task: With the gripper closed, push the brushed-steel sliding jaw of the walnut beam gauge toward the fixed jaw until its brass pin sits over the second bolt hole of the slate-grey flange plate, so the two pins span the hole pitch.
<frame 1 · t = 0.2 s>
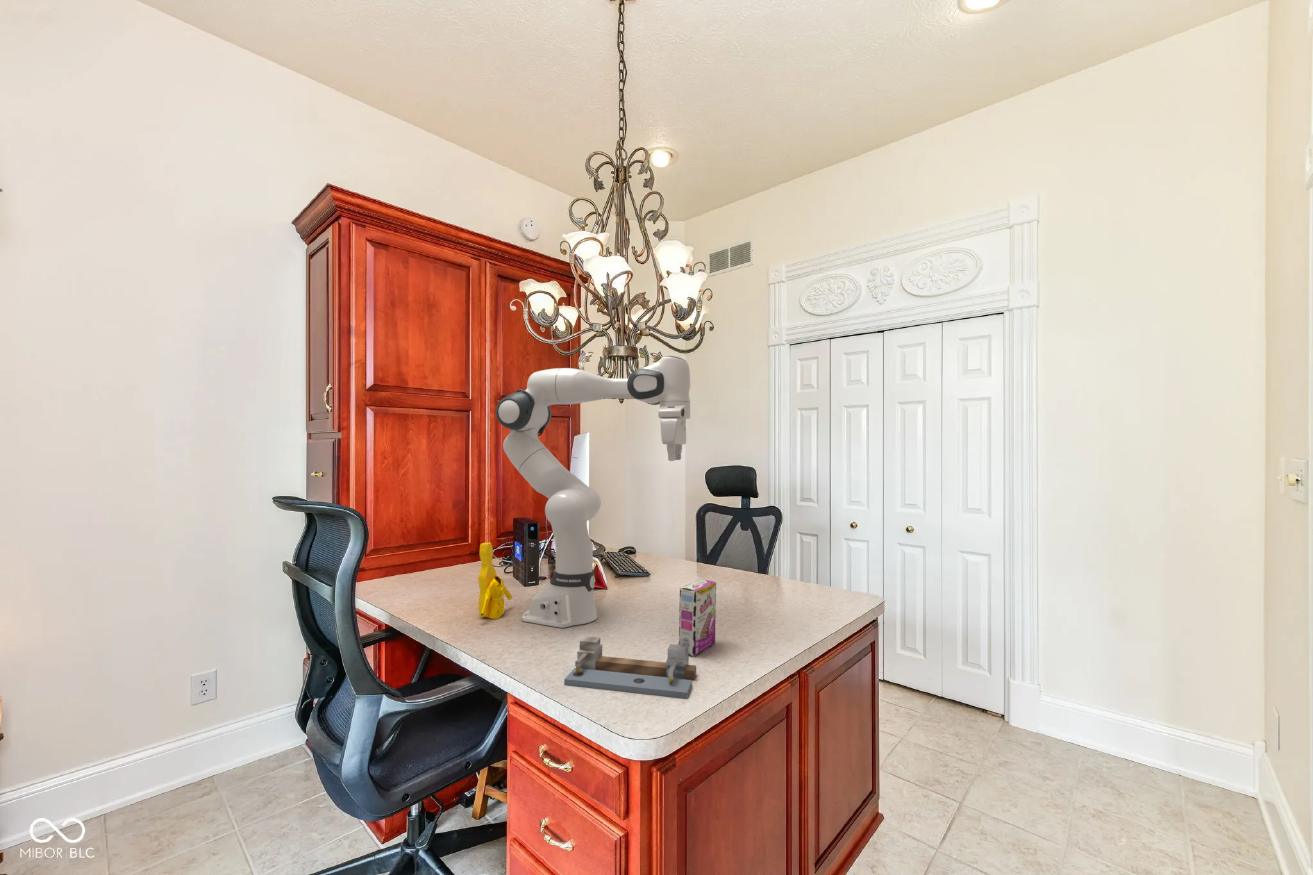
hand: (674, 460, 154), 48 cm above the table, fingers open, 8 cm apart
candy bar box: (697, 649, 137), on the table
figure statuette: (491, 616, 163), on the table
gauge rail: (637, 670, 123), on the table
flange plate: (627, 685, 116), on the table
sliding jaw: (675, 664, 118), point 3 cm above the table, slide at 14.0 cm
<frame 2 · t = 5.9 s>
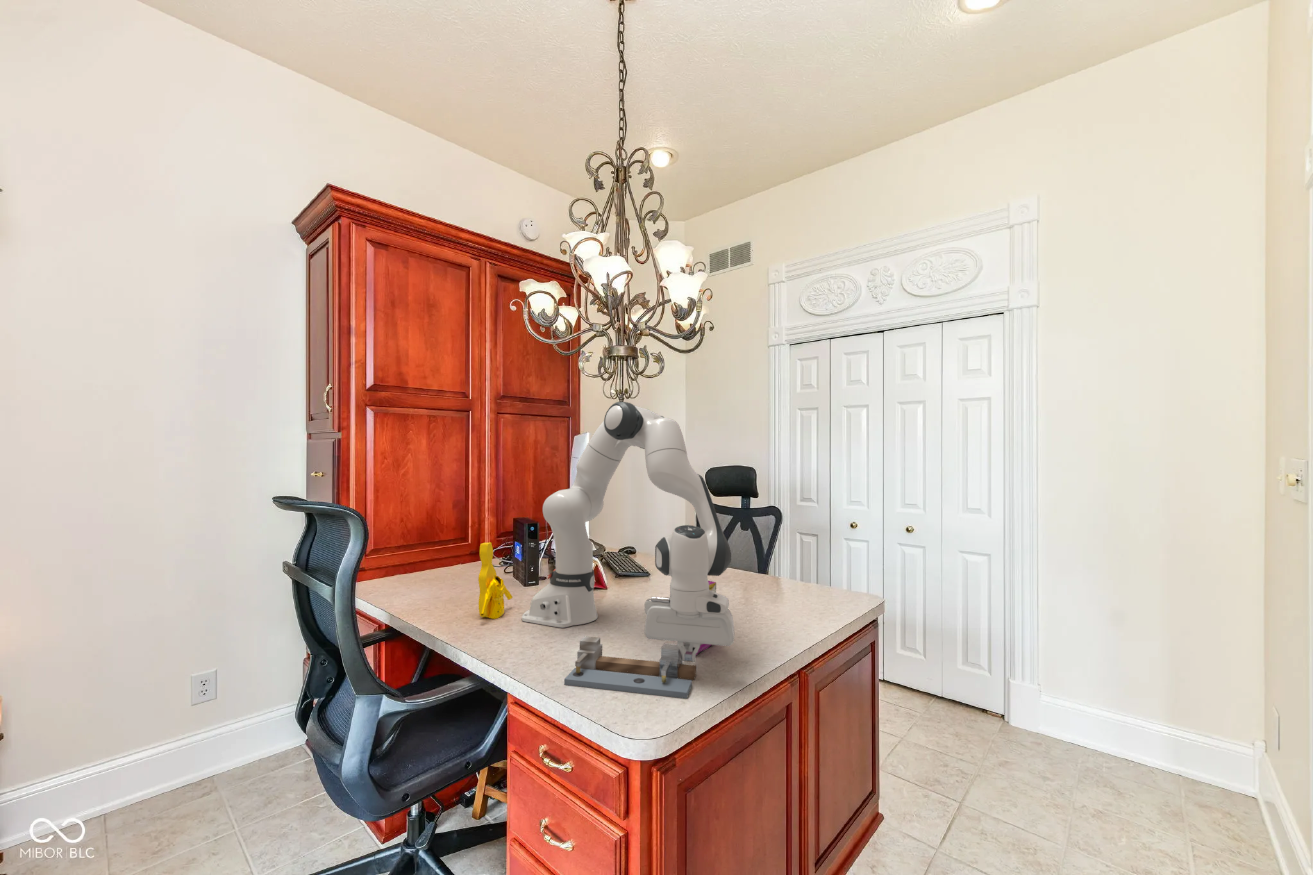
hand: (688, 660, 120), 3 cm above the table, fingers closed
sliding jaw: (668, 664, 119), point 3 cm above the table, slide at 12.5 cm, touching gripper
everything else where it was.
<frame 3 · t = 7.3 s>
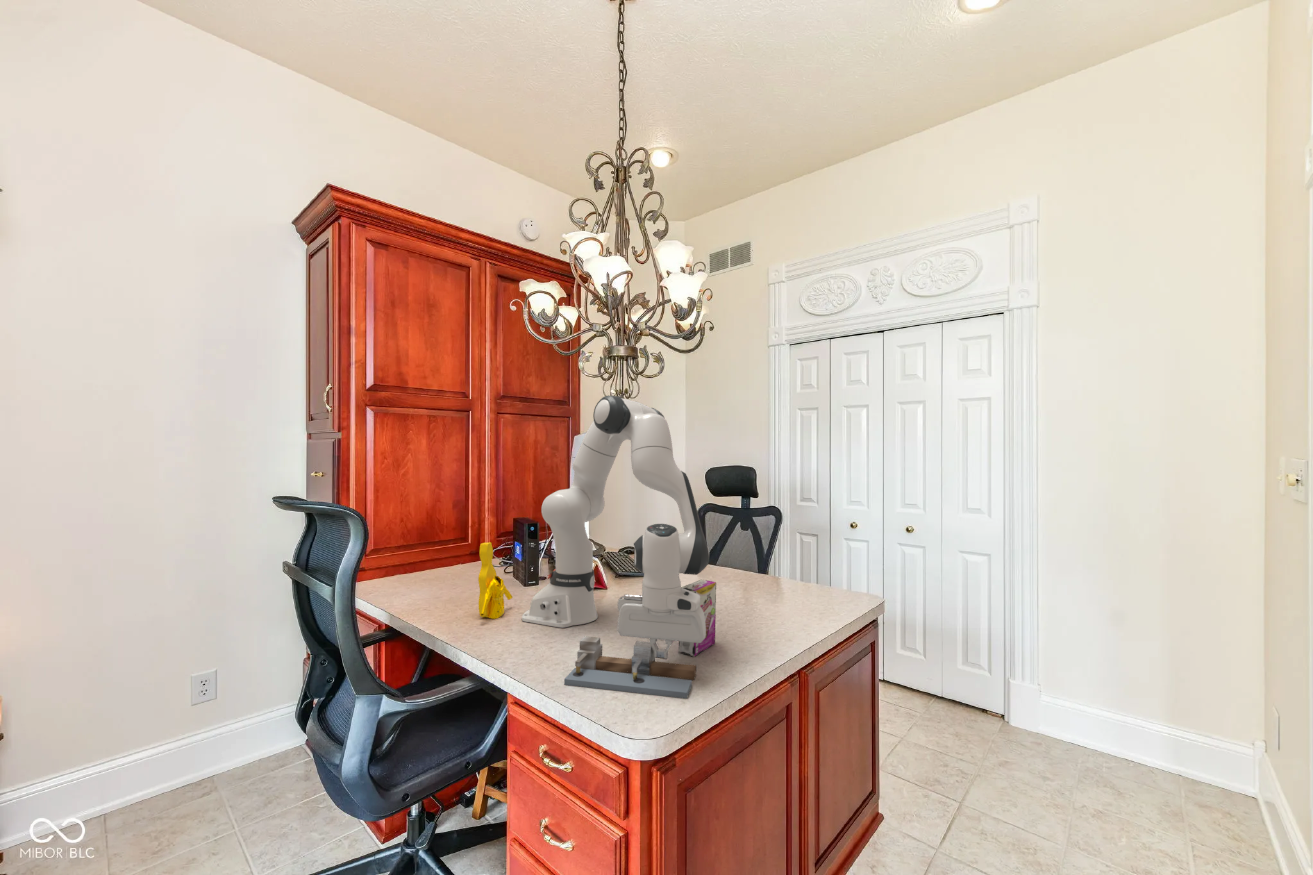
hand: (661, 657, 122), 4 cm above the table, fingers closed
sliding jaw: (641, 661, 120), point 3 cm above the table, slide at 6.1 cm, touching gripper
everything else where it was.
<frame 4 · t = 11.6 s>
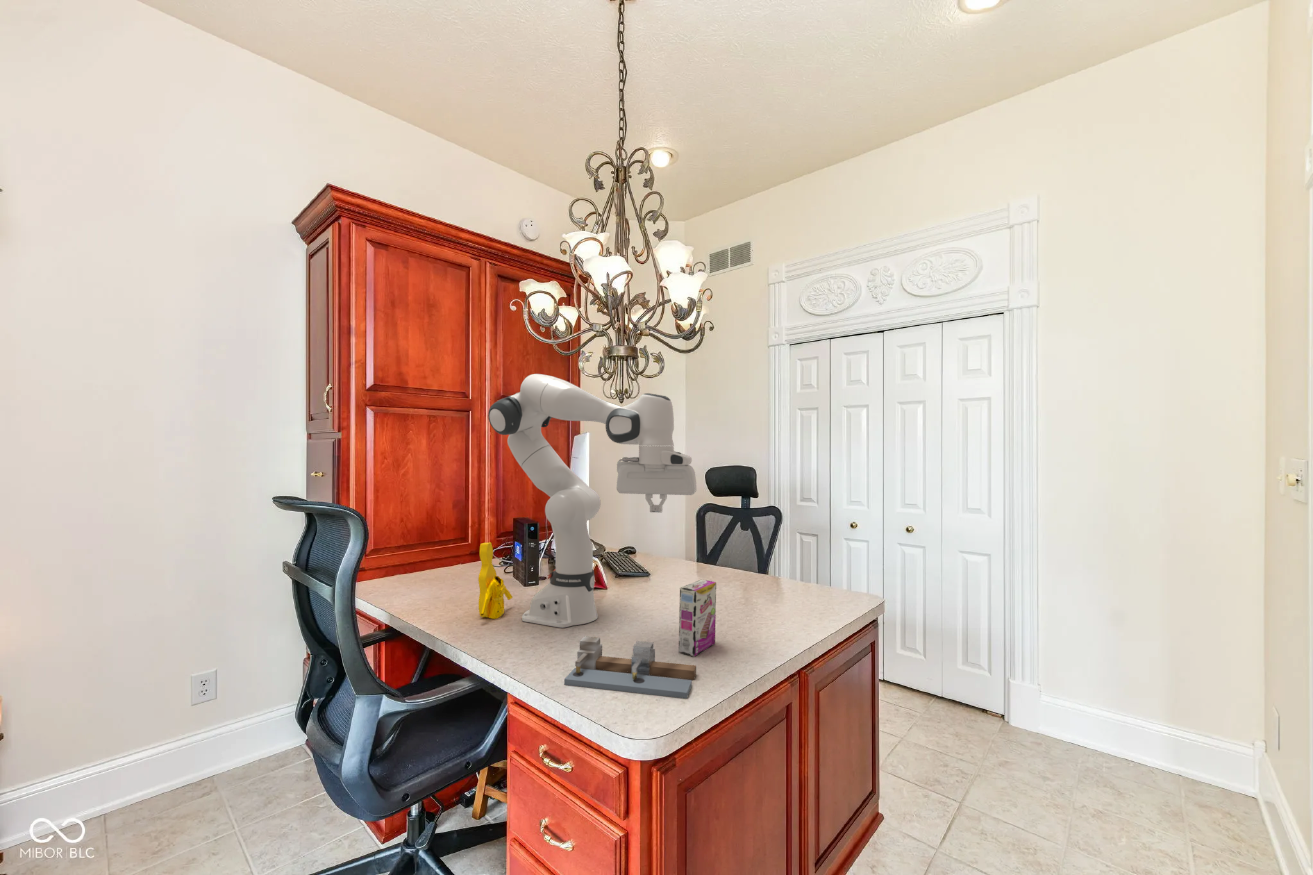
hand: (656, 512, 135), 35 cm above the table, fingers closed
sliding jaw: (640, 661, 120), point 3 cm above the table, slide at 6.0 cm
everything else where it was.
at the end: sliding jaw slide at 6.0 cm; sliding jaw 1.0 cm from the target spot on the table beside the flange plate, resting on flange plate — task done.
